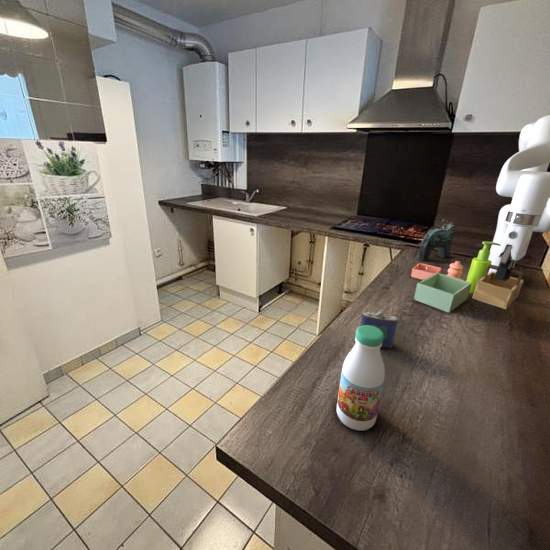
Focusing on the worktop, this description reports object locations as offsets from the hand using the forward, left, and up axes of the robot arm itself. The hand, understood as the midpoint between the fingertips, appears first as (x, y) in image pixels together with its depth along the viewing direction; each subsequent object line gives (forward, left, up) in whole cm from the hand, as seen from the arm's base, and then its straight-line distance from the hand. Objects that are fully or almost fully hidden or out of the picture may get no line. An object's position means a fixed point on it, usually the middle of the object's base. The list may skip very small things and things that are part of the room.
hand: (501, 278), depth 89 cm
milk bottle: (+66, -4, -14) cm, 68 cm away
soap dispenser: (-18, -10, -14) cm, 25 cm away
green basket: (0, -15, -14) cm, 21 cm away
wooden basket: (0, 0, -7) cm, 7 cm away
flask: (+42, -15, -14) cm, 47 cm away
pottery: (-18, -24, -14) cm, 33 cm away
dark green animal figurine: (-46, -37, -14) cm, 61 cm away
